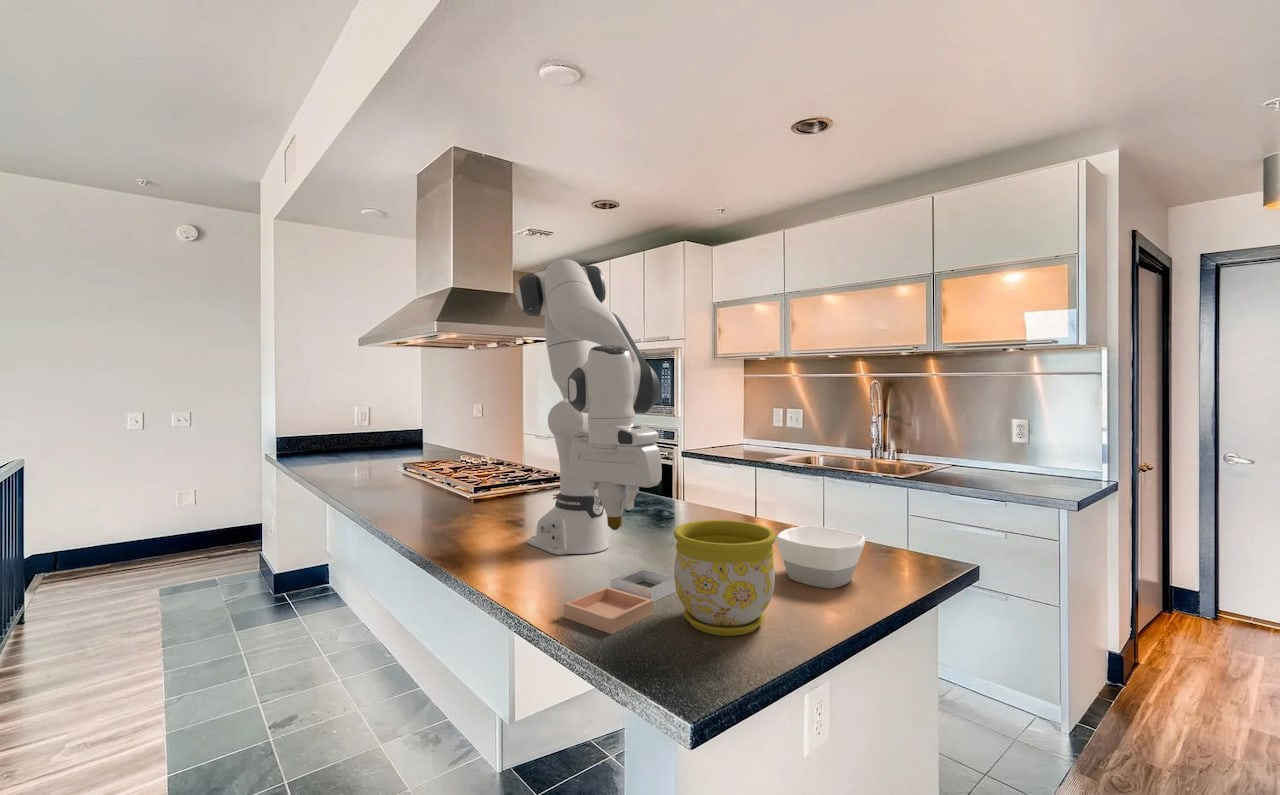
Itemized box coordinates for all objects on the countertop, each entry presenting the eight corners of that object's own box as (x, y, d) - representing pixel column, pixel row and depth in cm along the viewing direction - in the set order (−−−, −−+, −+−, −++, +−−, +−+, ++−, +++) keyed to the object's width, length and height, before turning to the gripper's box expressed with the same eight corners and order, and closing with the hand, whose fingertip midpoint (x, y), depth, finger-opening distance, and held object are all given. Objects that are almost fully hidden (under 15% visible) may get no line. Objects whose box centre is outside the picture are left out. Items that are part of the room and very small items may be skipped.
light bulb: (615, 524, 117) (614, 472, 116) (637, 529, 112) (635, 475, 112) (592, 530, 112) (590, 476, 112) (613, 535, 108) (612, 480, 108)
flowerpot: (704, 651, 97) (705, 549, 96) (657, 611, 113) (657, 524, 113) (796, 632, 104) (797, 538, 103) (738, 598, 120) (739, 516, 120)
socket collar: (610, 591, 124) (610, 579, 124) (642, 578, 132) (642, 567, 132) (650, 603, 117) (650, 591, 117) (681, 588, 125) (681, 577, 125)
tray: (563, 617, 110) (563, 603, 110) (606, 599, 119) (606, 586, 119) (611, 634, 103) (611, 619, 103) (653, 614, 112) (653, 600, 112)
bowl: (763, 579, 132) (763, 536, 132) (802, 561, 145) (803, 522, 145) (841, 599, 120) (841, 552, 120) (876, 578, 133) (877, 535, 133)
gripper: (560, 432, 116) (562, 504, 116) (644, 436, 103) (646, 516, 103) (583, 429, 121) (585, 498, 121) (665, 433, 108) (667, 510, 108)
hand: (613, 507), depth 112 cm, fingers closed on light bulb, 5 cm apart
